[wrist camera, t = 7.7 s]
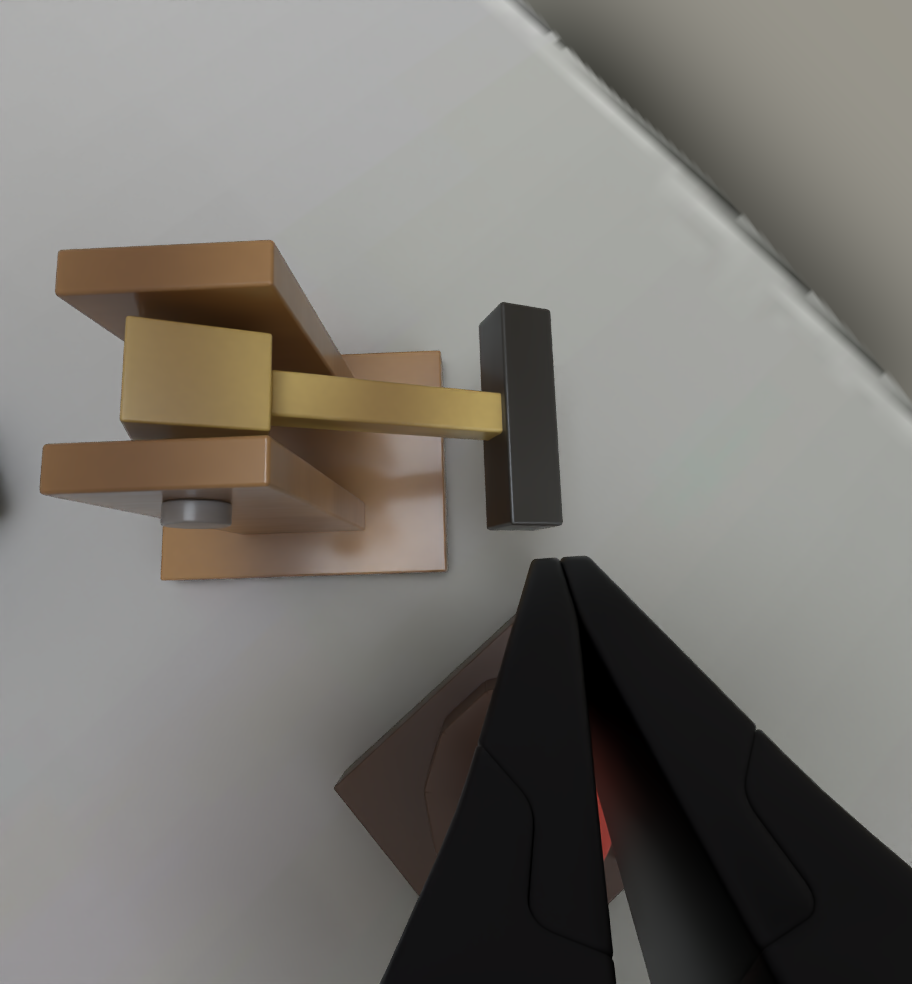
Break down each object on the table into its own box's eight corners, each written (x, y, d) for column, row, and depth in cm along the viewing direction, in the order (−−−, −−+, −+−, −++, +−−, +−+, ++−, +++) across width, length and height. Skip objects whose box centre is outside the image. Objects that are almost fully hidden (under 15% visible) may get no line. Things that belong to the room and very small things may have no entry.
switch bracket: (442, 361, 22) (412, 162, 12) (448, 572, 21) (421, 562, 10) (185, 372, 23) (-72, 187, 12) (177, 580, 21) (-119, 580, 11)
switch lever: (517, 336, 18) (560, 301, 16) (527, 532, 17) (573, 523, 15) (143, 282, 14) (130, 225, 12) (130, 531, 13) (113, 519, 11)
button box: (715, 753, 20) (766, 789, 16) (500, 964, 19) (506, 1049, 16) (555, 577, 21) (571, 576, 18) (344, 771, 20) (317, 810, 17)
